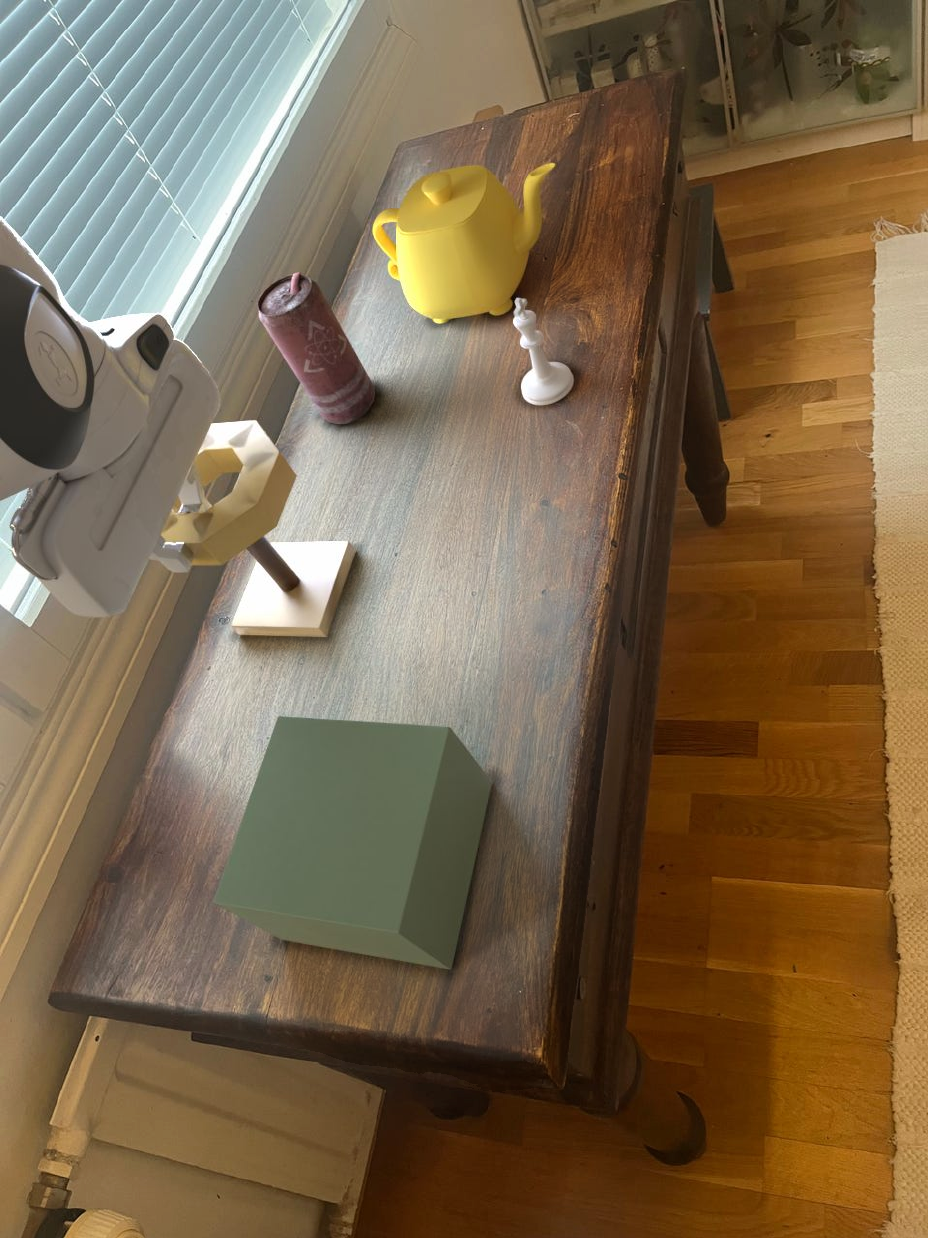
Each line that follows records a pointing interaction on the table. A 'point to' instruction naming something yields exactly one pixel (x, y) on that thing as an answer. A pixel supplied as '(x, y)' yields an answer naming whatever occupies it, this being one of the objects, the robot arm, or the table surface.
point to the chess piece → (539, 363)
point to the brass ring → (234, 494)
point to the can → (316, 348)
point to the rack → (293, 588)
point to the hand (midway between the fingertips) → (194, 541)
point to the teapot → (462, 241)
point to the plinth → (360, 838)
